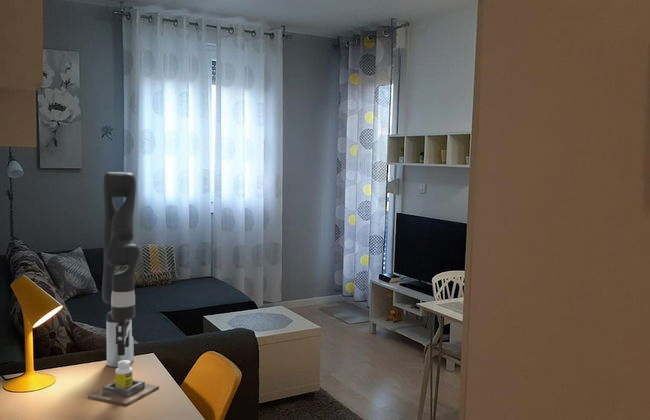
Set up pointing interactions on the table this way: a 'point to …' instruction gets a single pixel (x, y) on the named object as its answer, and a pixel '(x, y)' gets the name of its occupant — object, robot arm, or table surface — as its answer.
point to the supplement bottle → (123, 375)
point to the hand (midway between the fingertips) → (123, 350)
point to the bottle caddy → (123, 393)
